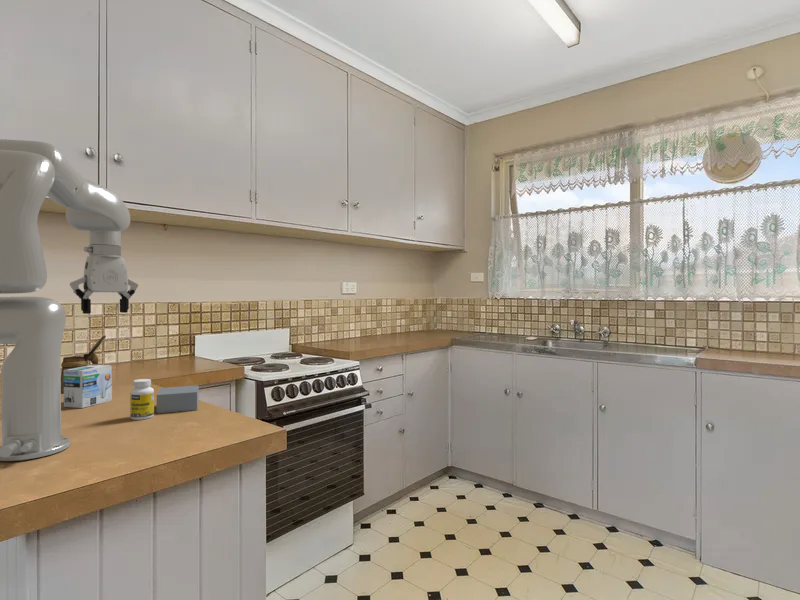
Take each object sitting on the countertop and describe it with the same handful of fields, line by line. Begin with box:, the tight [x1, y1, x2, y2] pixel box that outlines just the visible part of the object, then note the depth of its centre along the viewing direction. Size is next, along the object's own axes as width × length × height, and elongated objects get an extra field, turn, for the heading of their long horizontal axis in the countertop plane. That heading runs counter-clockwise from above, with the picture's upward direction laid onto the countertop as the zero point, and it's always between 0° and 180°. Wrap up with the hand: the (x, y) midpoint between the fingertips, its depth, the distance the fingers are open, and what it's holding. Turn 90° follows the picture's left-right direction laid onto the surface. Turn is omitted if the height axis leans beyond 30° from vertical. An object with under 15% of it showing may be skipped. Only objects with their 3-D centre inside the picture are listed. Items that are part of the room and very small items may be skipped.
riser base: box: [156, 385, 200, 414], centre depth 131 cm, size 10×10×5 cm
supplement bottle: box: [129, 378, 155, 421], centre depth 120 cm, size 5×5×10 cm
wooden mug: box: [60, 335, 107, 394], centre depth 155 cm, size 9×14×18 cm, turn 127°
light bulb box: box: [63, 364, 113, 409], centre depth 135 cm, size 11×7×11 cm, turn 168°
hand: (105, 313), depth 130 cm, fingers open, 9 cm apart
